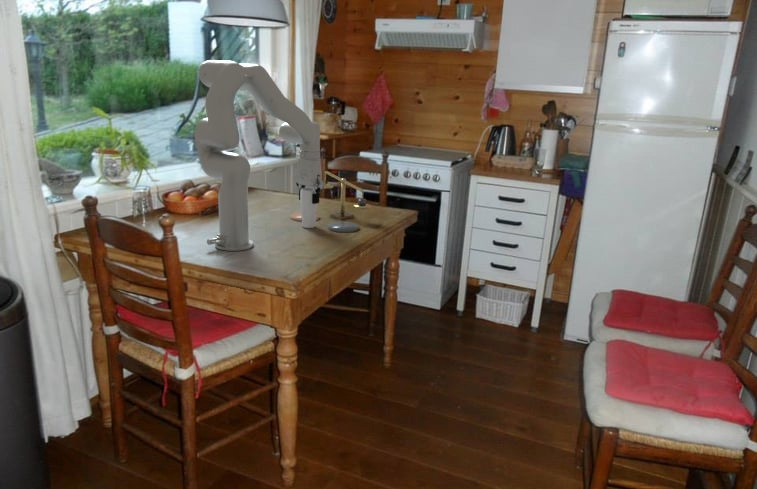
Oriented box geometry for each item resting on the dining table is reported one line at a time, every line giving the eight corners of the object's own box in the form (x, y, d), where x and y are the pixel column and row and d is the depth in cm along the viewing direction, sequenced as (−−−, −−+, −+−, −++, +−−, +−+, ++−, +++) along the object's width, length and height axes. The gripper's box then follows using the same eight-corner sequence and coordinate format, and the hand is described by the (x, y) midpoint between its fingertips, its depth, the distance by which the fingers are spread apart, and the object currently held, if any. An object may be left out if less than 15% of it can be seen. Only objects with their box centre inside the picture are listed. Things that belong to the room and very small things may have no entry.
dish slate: (343, 234, 209) (343, 231, 209) (321, 227, 216) (321, 225, 216) (364, 228, 218) (364, 226, 218) (342, 222, 225) (342, 220, 225)
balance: (360, 226, 222) (362, 181, 216) (312, 212, 239) (312, 170, 234) (374, 222, 227) (376, 179, 222) (325, 209, 245) (326, 168, 240)
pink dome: (303, 223, 221) (303, 220, 221) (284, 217, 228) (284, 215, 228) (325, 218, 230) (325, 216, 230) (305, 212, 237) (305, 210, 237)
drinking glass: (314, 229, 213) (314, 191, 208) (297, 228, 214) (297, 190, 210) (319, 225, 219) (320, 188, 215) (303, 223, 220) (303, 186, 216)
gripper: (286, 153, 211) (286, 198, 216) (318, 159, 200) (317, 207, 206) (301, 151, 216) (301, 196, 222) (333, 157, 206) (331, 204, 211)
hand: (309, 201), depth 214 cm, fingers closed on drinking glass, 6 cm apart
